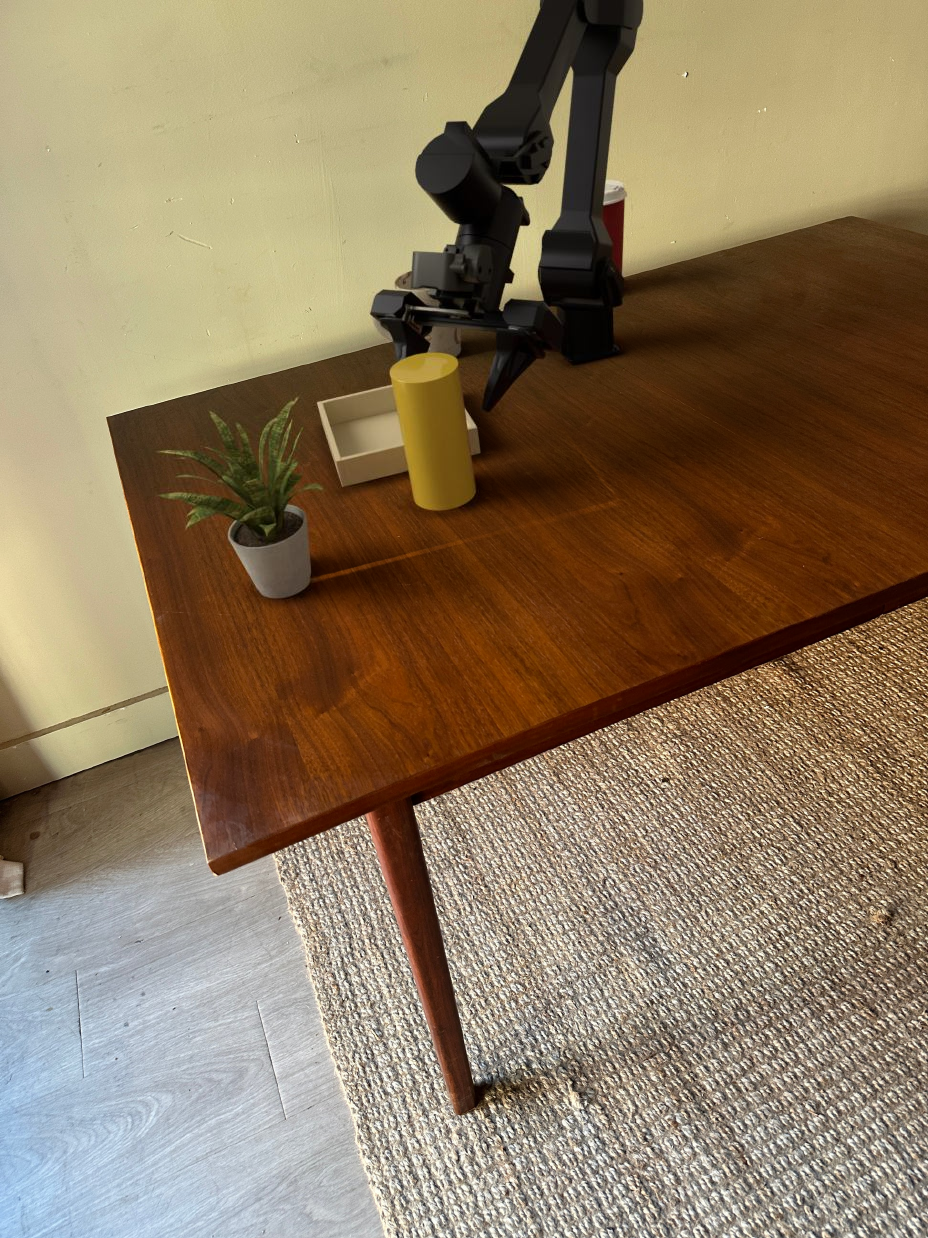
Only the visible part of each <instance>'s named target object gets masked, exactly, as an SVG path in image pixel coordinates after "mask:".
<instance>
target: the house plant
mask: <svg viewBox="0 0 928 1238" xmlns="http://www.w3.org/2000/svg"><path fill="white" fill-rule="evenodd" d="M299 397H300V396H297V397H295V398H293V399H292V400H291V401H289V402H288V403H287V404H286V405H284V407H282V409H281V410H280V412H279V413H278V415H277V416H276V417H275V418H273V419H271V420H270V421H269V422H268V423H267V424H266V425H265V427H264V428H263V429H262V432H261V435H260V439H259V443H258V445H259V446H258V464H257V460H256V458H255V455H254V452H253V449H252V445H251V442H250V439H249V436H248V434H247V432H246V431H245V429H244V428H243V427H242V425H241V424H240V423H239V422H237V421H235V424H236V425H235V426H236V428H237V432H238V434H239V437H240V439H241V451H240V449H239V447H238V445H237V443H236V440H235V438H234V436H233V434H232V432H231V430H230V428H229V426H228V425H227V424H226V422H224V421H223V420H222V419H221V418H220V417H219V416H218V415H217V414H216V413H215V412H212V411H210V410H208V413H209V415H210V417H211V419H212V420H213V421H212V422H214V425H215V426H216V429H217V430H218V433H219V434H220V437H221V439H222V442H223V444H224V447H225V449H226V452H227V454H225V453H224V452H222V451H220V450H218V449H215V448H211V447H208V446H204V445H200V444H196V443H195V444H196V445H197V446H199V447H201V448H205V449H208V450H210V451H212V452H214V453H215V454H217V455H218V456H219V457H220V458H222V459H223V460H224V461H225V462H226V463H227V464H228V468H229V469H228V468H226V467H225V465H222V464H221V463H220V462H218V461H217V460H216V459H213V458H212V457H210V456H208V455H206V454H203V453H201V452H198V451H194V450H185V449H182V450H181V449H163V450H157V451H154V452H155V453H162V454H174V455H181V456H183V457H175V458H173V459H175V460H176V459H177V460H180V459H181V460H182V459H183V460H190V461H193V462H197V463H198V464H200V465H202V466H203V467H205V468H207V469H208V470H209V471H210V472H212V474H214V475H215V476H216V477H217V478H218V479H219V480H216V482H215V481H214V480H211V479H209V478H206V477H203V476H200V475H195V474H180V475H177V476H176V478H196V479H200V480H201V479H202V480H205V481H208V482H211V483H213V484H216V485H218V486H220V487H223V488H224V489H226V490H227V491H229V492H230V493H232V494H233V495H234V496H236V498H238V499H240V500H241V501H242V502H244V503H245V504H246V505H245V504H243V503H241V502H238V501H235V500H233V499H230V498H228V497H222V496H217V495H210V494H202V493H195V492H176V491H175V492H168V493H161V494H158V495H156V497H160V498H161V497H162V498H164V499H168V500H177V501H182V502H183V503H186V504H189V505H192V506H194V508H193V509H191V511H190V512H189V513H187V516H186V519H187V518H188V516H189V515H191V516H190V518H189V519H188V522H187V523H186V526H185V530H187V529H188V527H190V526H192V525H194V524H196V523H197V522H200V521H202V520H204V519H206V518H208V517H211V516H215V515H223V516H226V517H228V518H230V519H232V520H234V521H233V522H232V524H231V525H230V526H229V528H228V531H227V537H228V541H229V542H230V544H231V546H232V548H233V549H234V551H235V553H236V554H237V557H238V558H239V559H240V562H241V563H242V565H243V566H244V568H245V570H246V572H247V574H248V576H249V577H250V579H251V581H252V582H253V584H254V586H255V588H256V590H258V592H259V594H260V595H262V596H263V597H265V598H269V599H285V598H289V597H292V596H294V595H297V594H299V593H301V592H302V591H303V590H305V589H306V588H307V587H308V586H309V584H310V582H311V580H312V579H311V578H312V577H311V575H312V564H311V556H310V555H311V554H310V542H309V529H308V528H309V527H308V518H307V514H306V513H305V511H304V510H303V509H302V508H300V507H298V506H296V505H293V504H289V503H290V501H291V500H292V499H293V497H294V496H296V495H298V494H299V493H301V492H303V491H306V490H313V489H317V490H321V491H323V492H324V493H325V494H326V491H325V489H324V488H323V486H322V484H319V483H310V484H308V485H305V486H304V487H301V488H300V489H298V490H297V491H295V492H294V493H293V494H292V495H291V493H292V491H293V490H294V489H295V487H296V486H297V485H298V483H299V482H300V480H301V478H302V475H303V473H292V472H293V471H294V470H295V468H297V467H298V465H299V464H300V465H302V463H301V462H300V461H296V460H297V458H298V457H299V455H297V456H295V458H293V459H292V456H293V454H294V451H295V449H296V446H297V443H298V441H299V438H300V435H301V433H302V431H303V429H304V426H302V427H301V428H300V431H299V433H298V435H297V436H296V437H295V439H294V442H293V444H292V447H291V449H290V452H289V454H288V457H287V459H286V461H282V459H283V455H284V452H285V450H286V447H287V444H288V440H289V436H290V431H291V428H292V424H293V418H291V421H290V423H289V424H288V426H287V428H286V431H285V433H284V436H283V439H282V443H281V438H282V435H283V430H284V427H285V425H286V423H287V420H288V417H289V414H290V411H291V408H292V407H293V406H294V405H295V404H296V402H297V401H298V399H299ZM271 427H272V428H271ZM270 428H271V429H270ZM269 431H270V434H269V438H268V442H267V443H268V444H267V445H268V446H267V447H268V449H267V450H268V454H267V470H266V474H267V475H266V477H267V478H266V482H267V483H266V484H265V481H264V448H265V443H266V440H267V436H268V433H269ZM280 443H281V446H280ZM279 448H280V449H279ZM184 456H186V457H184ZM291 459H292V460H291ZM216 471H217V472H216ZM218 472H219V473H220V474H221V475H223V476H221V475H220V474H219V473H218ZM220 483H222V484H225V485H226V486H227V487H229V488H230V489H231V490H230V489H229V488H227V487H224V486H223V485H222V484H220Z"/></svg>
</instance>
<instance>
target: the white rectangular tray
mask: <svg viewBox="0 0 928 1238" xmlns="http://www.w3.org/2000/svg"><path fill="white" fill-rule="evenodd" d="M316 405H317V408H318V412H319V417H320V420H321V425H322V428H323V431H324V434H325V437H326V440H327V442H328V446H329V449H330V453H331V456H332V459H333V462H334V465H335V468H336V471H337V475H338V478H339V481H340V484H341V487H342V488H344V487H348V486H353V485H357V484H360V483H365V482H368V481H373V480H376V479H380V478H385V477H388V476H392V475H397V474H401V473H404V472H405V473H406V472H408V467H407V461H406V456H405V451H404V446H403V440H402V435H401V430H400V425H399V419H398V414H397V409H396V404H395V398H394V393H393V388H392V384H388V385H384V386H381V387H376V388H372V389H368V390H364V391H360V392H354V393H350V394H347V395H342V396H338V397H333V398H329V399H325V400H321V401H317V402H316ZM465 413H466V420H467V428H468V435H469V442H470V449H471V456H474V455H478V454H481V447H480V439H479V431H478V427H477V425H476V423H475V421H474V420H473V418H472V417H471V415H470V414H469V412H468V411H467V409H466V408H465Z"/></svg>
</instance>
